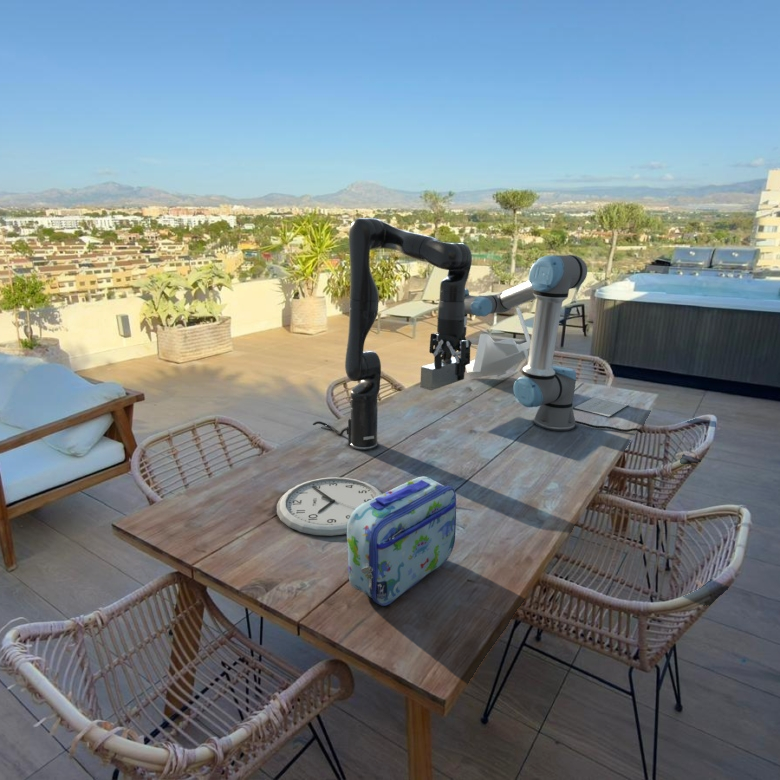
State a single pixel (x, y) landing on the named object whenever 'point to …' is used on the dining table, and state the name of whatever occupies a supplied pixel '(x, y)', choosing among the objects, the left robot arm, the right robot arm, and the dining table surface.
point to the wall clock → (324, 504)
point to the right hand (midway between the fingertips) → (454, 377)
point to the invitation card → (601, 406)
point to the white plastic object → (498, 354)
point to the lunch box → (400, 538)
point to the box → (439, 375)
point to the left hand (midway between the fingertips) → (448, 372)
